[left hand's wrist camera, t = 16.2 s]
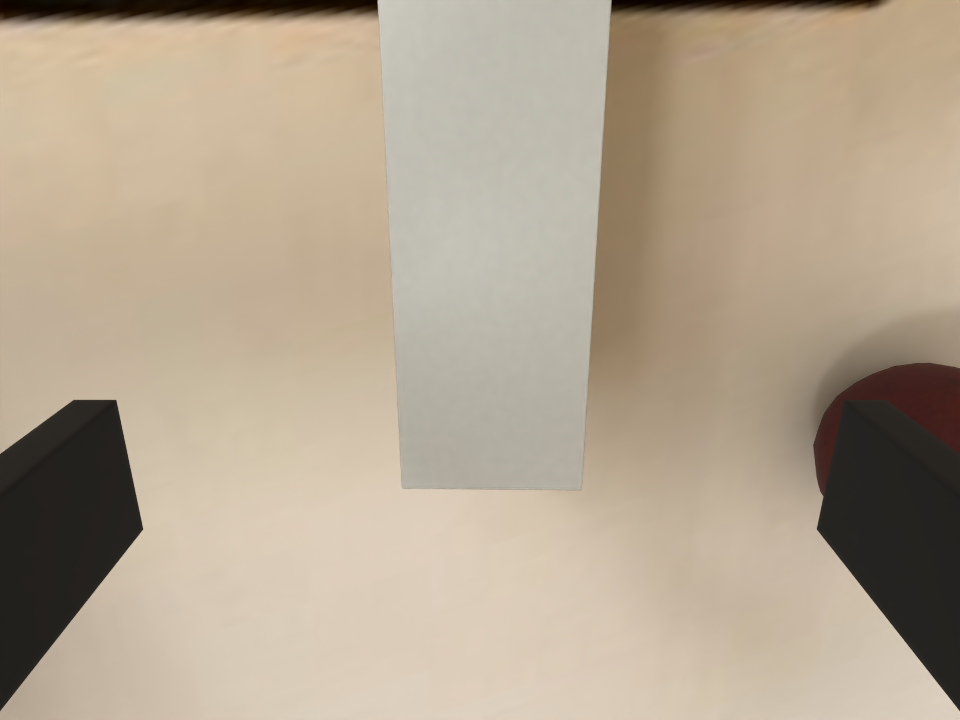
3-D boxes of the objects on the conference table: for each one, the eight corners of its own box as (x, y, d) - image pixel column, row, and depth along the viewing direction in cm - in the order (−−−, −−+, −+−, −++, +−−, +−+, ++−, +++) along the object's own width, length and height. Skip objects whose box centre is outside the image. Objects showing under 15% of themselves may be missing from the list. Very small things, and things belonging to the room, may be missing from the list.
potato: (991, 342, 27) (1148, 419, 21) (936, 507, 30) (1060, 622, 23) (807, 334, 27) (905, 408, 21) (770, 499, 30) (846, 611, 24)
